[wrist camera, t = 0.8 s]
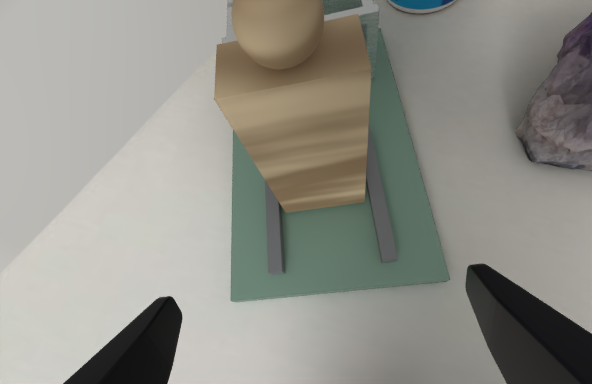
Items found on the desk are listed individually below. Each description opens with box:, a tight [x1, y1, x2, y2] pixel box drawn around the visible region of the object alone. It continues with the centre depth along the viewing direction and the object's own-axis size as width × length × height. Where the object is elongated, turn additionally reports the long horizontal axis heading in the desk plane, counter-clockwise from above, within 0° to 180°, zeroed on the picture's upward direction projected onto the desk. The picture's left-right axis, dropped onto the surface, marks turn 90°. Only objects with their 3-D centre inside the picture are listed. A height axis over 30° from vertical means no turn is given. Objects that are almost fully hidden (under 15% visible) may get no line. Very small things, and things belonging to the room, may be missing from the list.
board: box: [231, 28, 450, 302], centre depth 26 cm, size 24×15×2 cm, turn 4°
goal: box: [222, 0, 379, 82], centre depth 27 cm, size 6×12×7 cm, turn 94°
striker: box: [214, 0, 371, 213], centre depth 16 cm, size 3×6×16 cm, turn 94°
